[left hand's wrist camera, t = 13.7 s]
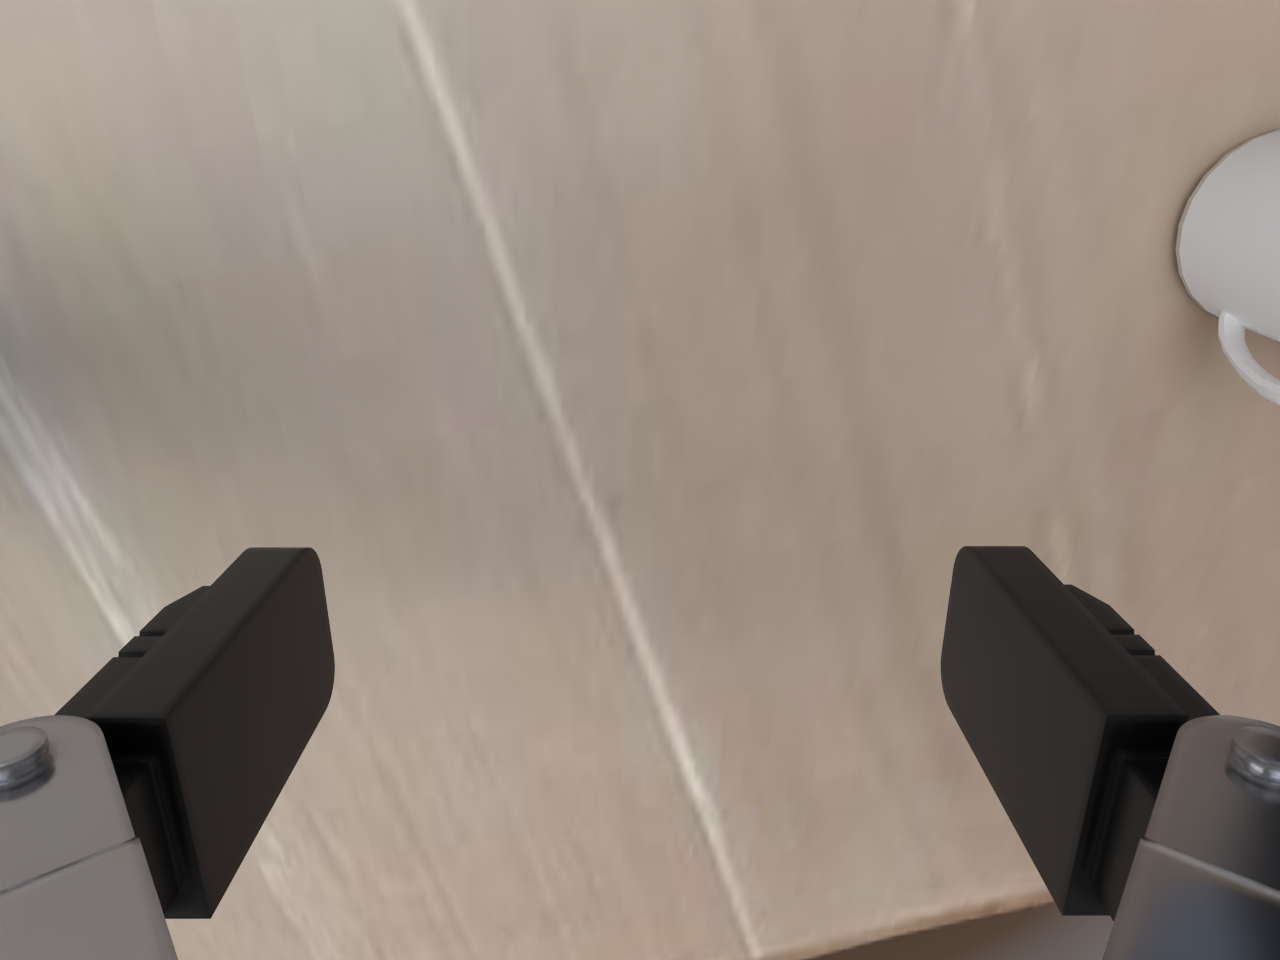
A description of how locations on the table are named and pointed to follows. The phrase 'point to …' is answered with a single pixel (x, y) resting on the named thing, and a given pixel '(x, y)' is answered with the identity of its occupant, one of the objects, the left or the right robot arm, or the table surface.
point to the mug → (1237, 251)
